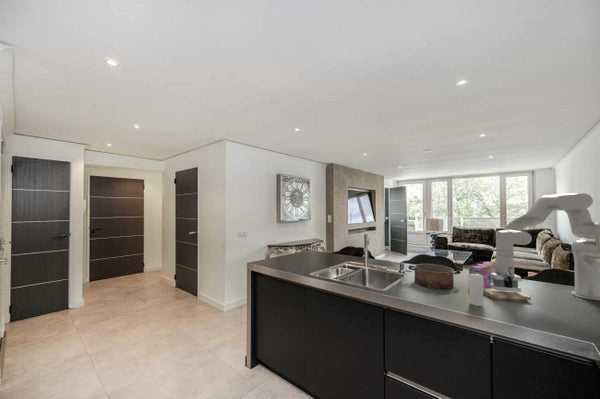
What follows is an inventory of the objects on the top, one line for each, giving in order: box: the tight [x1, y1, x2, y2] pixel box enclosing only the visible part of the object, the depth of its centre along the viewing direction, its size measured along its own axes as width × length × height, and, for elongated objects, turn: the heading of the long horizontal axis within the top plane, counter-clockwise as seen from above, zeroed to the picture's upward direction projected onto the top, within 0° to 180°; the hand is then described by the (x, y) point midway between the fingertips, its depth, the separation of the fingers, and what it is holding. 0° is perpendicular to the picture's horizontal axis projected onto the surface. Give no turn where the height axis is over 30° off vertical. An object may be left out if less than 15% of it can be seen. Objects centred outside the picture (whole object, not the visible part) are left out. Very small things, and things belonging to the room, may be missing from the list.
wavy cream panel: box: [483, 287, 532, 303], centre depth 141 cm, size 18×11×3 cm, turn 77°
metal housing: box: [489, 272, 522, 292], centre depth 141 cm, size 6×12×8 cm, turn 79°
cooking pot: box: [408, 263, 461, 291], centre depth 166 cm, size 30×22×11 cm
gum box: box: [468, 260, 498, 288], centre depth 163 cm, size 24×8×14 cm, turn 125°
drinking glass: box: [467, 273, 484, 307], centre depth 132 cm, size 7×7×15 cm
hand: (505, 285), depth 141 cm, fingers closed on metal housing, 6 cm apart
